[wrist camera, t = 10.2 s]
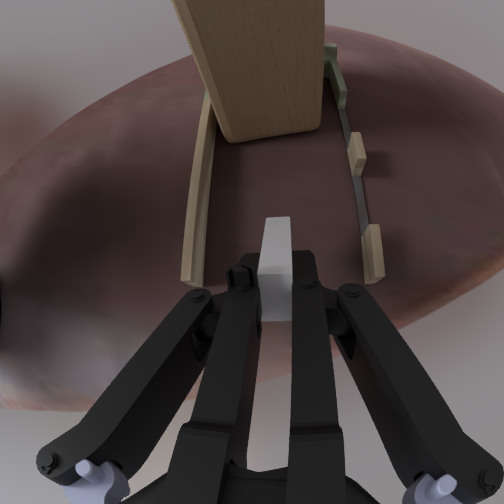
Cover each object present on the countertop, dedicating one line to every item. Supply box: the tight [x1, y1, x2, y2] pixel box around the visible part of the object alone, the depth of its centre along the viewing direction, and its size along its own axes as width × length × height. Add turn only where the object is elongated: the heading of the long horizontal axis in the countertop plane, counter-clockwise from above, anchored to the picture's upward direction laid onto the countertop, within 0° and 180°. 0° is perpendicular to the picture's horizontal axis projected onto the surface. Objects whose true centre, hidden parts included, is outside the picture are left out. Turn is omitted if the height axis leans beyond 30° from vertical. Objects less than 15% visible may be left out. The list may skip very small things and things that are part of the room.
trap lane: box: [181, 43, 385, 287], centre depth 23 cm, size 15×26×5 cm, turn 179°
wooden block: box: [171, 0, 325, 143], centre depth 18 cm, size 10×10×20 cm
